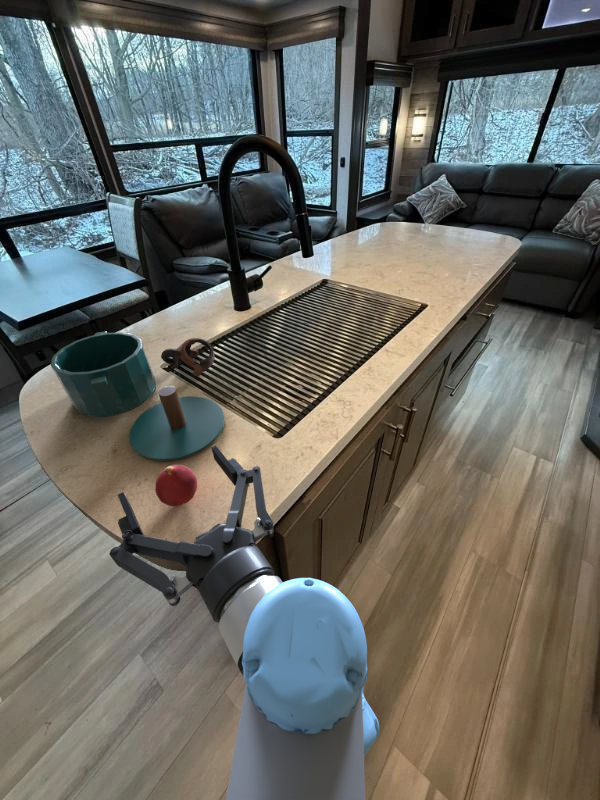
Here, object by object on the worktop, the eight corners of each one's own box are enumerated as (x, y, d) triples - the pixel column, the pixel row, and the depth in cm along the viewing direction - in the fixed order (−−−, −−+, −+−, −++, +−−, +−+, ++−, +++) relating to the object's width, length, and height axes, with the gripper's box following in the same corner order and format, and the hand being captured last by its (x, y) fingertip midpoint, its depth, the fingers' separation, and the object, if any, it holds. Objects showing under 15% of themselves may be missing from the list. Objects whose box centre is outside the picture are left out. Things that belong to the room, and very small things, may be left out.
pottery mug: (207, 353, 87) (213, 333, 81) (214, 384, 84) (220, 366, 77) (158, 354, 82) (160, 332, 75) (163, 387, 78) (165, 367, 71)
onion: (172, 483, 54) (158, 449, 49) (206, 486, 54) (196, 452, 49) (156, 515, 50) (139, 481, 45) (194, 518, 49) (181, 484, 44)
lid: (133, 476, 55) (113, 437, 50) (129, 414, 68) (112, 377, 62) (235, 444, 61) (228, 405, 55) (214, 391, 73) (206, 356, 68)
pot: (70, 435, 63) (43, 391, 57) (78, 376, 79) (57, 336, 73) (161, 411, 69) (145, 368, 62) (151, 360, 84) (138, 322, 78)
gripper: (139, 705, 31) (89, 538, 44) (333, 546, 43) (249, 451, 56) (109, 685, 27) (63, 505, 40) (336, 513, 38) (243, 418, 52)
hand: (172, 473), depth 48 cm, fingers open, 13 cm apart
